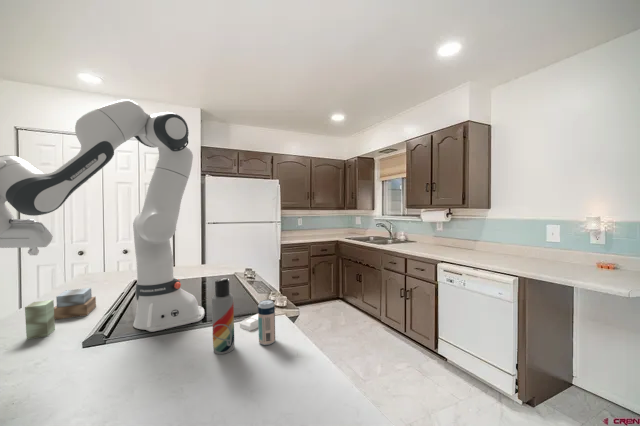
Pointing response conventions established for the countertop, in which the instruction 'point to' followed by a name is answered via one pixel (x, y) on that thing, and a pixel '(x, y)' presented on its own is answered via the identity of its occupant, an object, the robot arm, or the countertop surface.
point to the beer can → (266, 322)
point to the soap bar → (250, 323)
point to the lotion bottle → (223, 317)
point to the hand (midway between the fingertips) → (13, 253)
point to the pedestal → (74, 303)
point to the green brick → (39, 319)
